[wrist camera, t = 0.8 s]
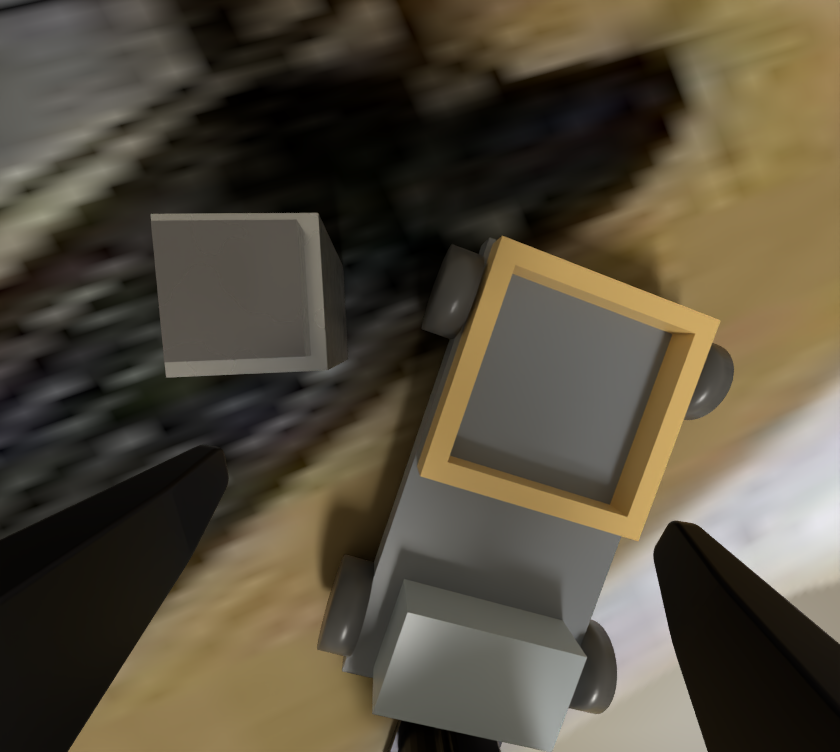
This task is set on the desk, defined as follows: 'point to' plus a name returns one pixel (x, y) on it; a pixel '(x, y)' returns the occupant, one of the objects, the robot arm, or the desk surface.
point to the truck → (521, 494)
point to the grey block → (248, 293)
